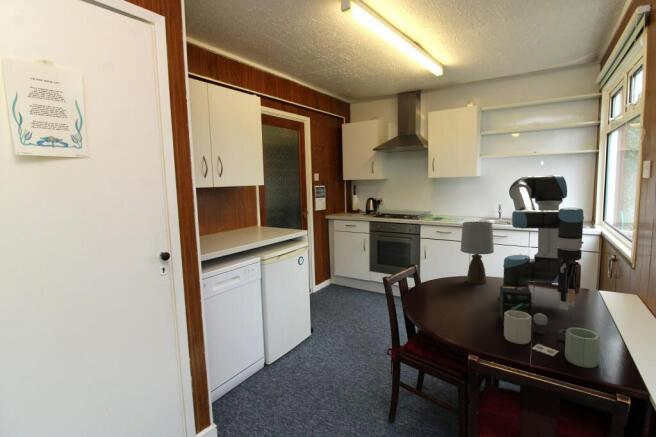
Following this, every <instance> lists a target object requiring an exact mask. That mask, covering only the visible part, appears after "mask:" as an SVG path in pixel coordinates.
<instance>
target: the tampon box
mask: <svg viewBox="0 0 656 437" xmlns="http://www.w3.org/2000/svg"><path fill="white" fill-rule="evenodd" d="M530 292H531V290H530V291H529V290H528V289H527V287H511V286H503V285H500V287H499V293H500V298H499V316H500V318H501V321H502V324H503V325H504V313H505V312H507V311H508V310H513V311H521V312H525V313H528V314H529V315H530V316H531V317H532V303H531V294H532V292H531V293H530Z"/></svg>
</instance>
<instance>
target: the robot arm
mask: <svg viewBox="0 0 656 437" xmlns="http://www.w3.org/2000/svg"><path fill="white" fill-rule="evenodd" d="M508 193H509V197H510V199H511V200H512V201H513V206H514V211H512V214H511V224H512V227H513V228H515V229H517V228H518V229H523V230H524V229H537V231H538V232H537V238H538V239H537V252H536V254H534V255H533V256H534V257H533V258H531V257H530V256H529V255H527V254H512V255H509V256H508V255H507V256H506V257H504V259H503V278H502V279H503V282H502V286H511V287H527V289H528V290H529V291H530V293H531V304H533V298H534V297H533V294H532V292H531V288H530V283H531V282H532V283H544V284H545V283H546V284H557V291H556V292H557V293H560V297H559V306H558V308H559V309H561V310H566V311H569V306H571V307H574V306H575V305H574V304H575V300H574V301H573V302H570V303H569V293H568V290H571V291H572V292H573V293H574V294H575V290H577V291H578V287H577V286H578V271H579V269H578V268H579V261H580V260H582V253H583V252H582V246H583V244H584V243H585V241H584V240H583V234H584V232H583V231H584V220H585V215H584V209H583V208H579V207H561V208H560V205H561V204H562V203H563V201H564V199H567V197H568V185H567V182H566V179H565V177H564V176H563V175H559V174H549V175H548V174H547V175H546V174H545V175H527V176H522V177H520V178H518V179H516V180H515V181H514V182H513V183H511V185H510V187H509V190H508ZM533 199H534V201H533ZM534 203H535V204H536V205H537V206H538V210H536V207H535V204H534ZM498 294H499V296H498V298H499V299H500V292H499V293H498Z"/></svg>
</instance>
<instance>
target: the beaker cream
mask: <svg viewBox="0 0 656 437" xmlns="http://www.w3.org/2000/svg"><path fill="white" fill-rule="evenodd" d="M503 327H504V328H503V336H504V338H505V340H507V341H509V342H510V343H514V344H518V345H527V344H530V342H531V341H532V339H531V337H532V315H531V316H530V315H529V314H528V313H525V312H521V311H513V310H508V311H507V312H505V313H504V324H503Z"/></svg>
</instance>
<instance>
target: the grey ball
mask: <svg viewBox="0 0 656 437" xmlns="http://www.w3.org/2000/svg"><path fill="white" fill-rule="evenodd" d="M532 321H533V322H534V323H536V324H537V325H539V326H544V325H548V324H547V323H548V317H547V316H546V314H544V313H540V312H537V313H535V314H534V315H533V318H532Z"/></svg>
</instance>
